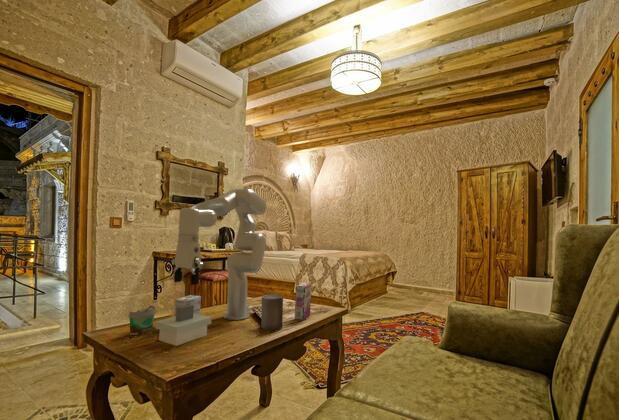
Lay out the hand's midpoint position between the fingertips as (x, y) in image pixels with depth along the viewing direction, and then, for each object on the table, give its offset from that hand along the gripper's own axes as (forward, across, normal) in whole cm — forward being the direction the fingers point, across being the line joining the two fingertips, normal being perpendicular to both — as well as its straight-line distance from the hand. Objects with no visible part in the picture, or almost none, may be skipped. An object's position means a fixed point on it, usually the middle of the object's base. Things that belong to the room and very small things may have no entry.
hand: (186, 283), depth 124 cm
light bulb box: (+22, +20, -18) cm, 35 cm away
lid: (+16, 0, 0) cm, 16 cm away
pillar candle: (+22, -18, -33) cm, 44 cm away
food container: (+22, +18, +4) cm, 29 cm away
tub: (+22, 0, 0) cm, 22 cm away
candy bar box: (+22, -20, -55) cm, 63 cm away
